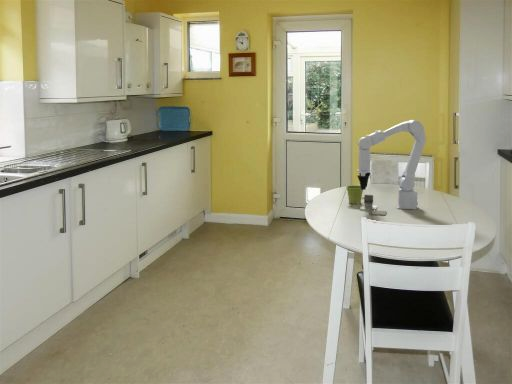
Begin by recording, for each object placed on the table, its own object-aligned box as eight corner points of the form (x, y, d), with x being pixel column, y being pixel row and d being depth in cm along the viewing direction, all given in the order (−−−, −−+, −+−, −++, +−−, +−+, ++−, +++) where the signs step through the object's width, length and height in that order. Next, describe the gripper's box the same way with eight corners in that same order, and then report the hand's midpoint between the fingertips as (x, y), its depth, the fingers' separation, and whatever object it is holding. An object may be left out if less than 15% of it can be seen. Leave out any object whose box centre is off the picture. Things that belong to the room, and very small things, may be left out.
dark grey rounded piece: (373, 202, 284) (373, 194, 283) (372, 203, 279) (372, 196, 279) (362, 201, 285) (362, 194, 284) (361, 203, 281) (361, 196, 280)
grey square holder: (377, 207, 285) (377, 201, 285) (376, 210, 278) (376, 204, 277) (361, 206, 287) (361, 200, 287) (359, 210, 280) (359, 204, 279)
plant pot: (363, 204, 292) (364, 188, 290) (345, 204, 293) (345, 188, 292) (364, 201, 301) (364, 185, 299) (346, 200, 302) (346, 185, 301)
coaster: (386, 212, 275) (386, 211, 274) (385, 215, 267) (385, 214, 267) (369, 211, 277) (369, 210, 277) (368, 214, 269) (368, 213, 269)
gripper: (357, 159, 288) (357, 185, 291) (354, 163, 275) (354, 190, 277) (371, 159, 286) (371, 185, 289) (369, 163, 273) (368, 190, 275)
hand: (364, 188), depth 283 cm, fingers open, 7 cm apart
